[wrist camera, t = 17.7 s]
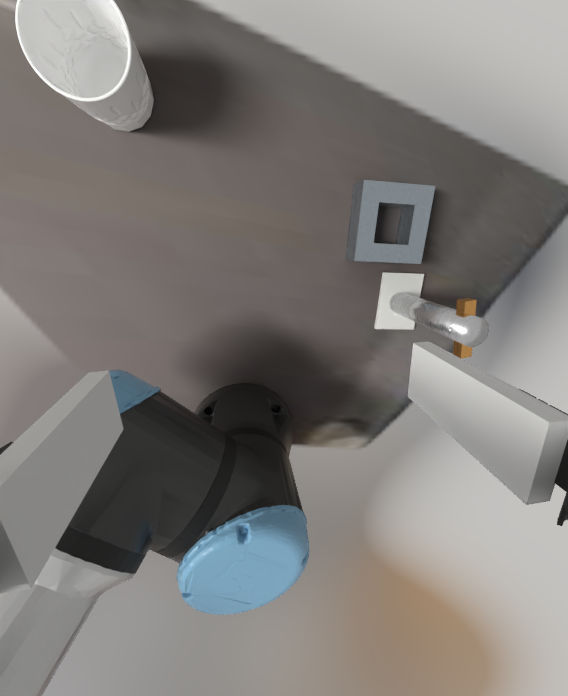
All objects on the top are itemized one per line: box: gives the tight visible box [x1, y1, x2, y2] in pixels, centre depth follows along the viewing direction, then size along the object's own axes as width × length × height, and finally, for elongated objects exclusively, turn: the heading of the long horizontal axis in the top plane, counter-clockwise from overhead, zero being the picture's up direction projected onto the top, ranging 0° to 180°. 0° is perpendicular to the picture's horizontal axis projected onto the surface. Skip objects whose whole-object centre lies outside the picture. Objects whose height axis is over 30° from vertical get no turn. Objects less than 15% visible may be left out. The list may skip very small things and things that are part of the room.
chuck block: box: [346, 180, 435, 264], centre depth 40 cm, size 9×9×3 cm
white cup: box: [15, 0, 154, 132], centre depth 28 cm, size 8×8×10 cm
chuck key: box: [390, 292, 489, 358], centre depth 38 cm, size 3×6×15 cm, turn 7°
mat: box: [374, 272, 424, 329], centre depth 45 cm, size 8×6×1 cm
